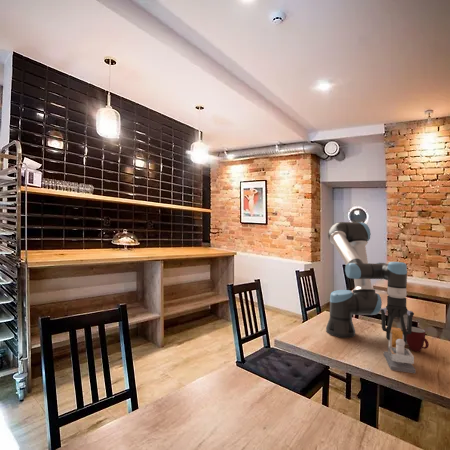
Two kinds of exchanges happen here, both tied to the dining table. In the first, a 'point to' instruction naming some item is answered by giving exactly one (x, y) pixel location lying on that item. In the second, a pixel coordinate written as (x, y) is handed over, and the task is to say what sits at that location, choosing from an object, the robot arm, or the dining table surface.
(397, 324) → the coffee box
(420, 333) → the mug
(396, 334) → the tray with orange handle
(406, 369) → the keeper board
